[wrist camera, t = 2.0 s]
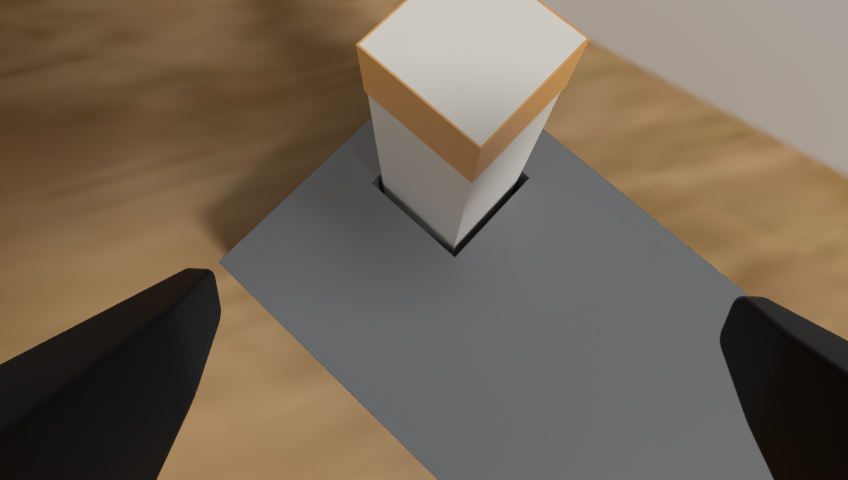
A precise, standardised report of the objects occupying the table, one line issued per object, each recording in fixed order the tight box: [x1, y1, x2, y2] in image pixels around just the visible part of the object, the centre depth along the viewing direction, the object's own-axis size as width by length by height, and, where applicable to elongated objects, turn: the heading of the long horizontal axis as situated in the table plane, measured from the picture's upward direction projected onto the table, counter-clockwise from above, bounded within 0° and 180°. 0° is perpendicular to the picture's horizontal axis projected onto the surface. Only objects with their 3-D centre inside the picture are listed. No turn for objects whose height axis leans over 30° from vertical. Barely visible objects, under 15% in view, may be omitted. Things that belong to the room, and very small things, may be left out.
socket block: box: [219, 117, 774, 480], centre depth 20 cm, size 20×12×3 cm, turn 47°
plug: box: [356, 0, 590, 257], centre depth 17 cm, size 4×4×11 cm
